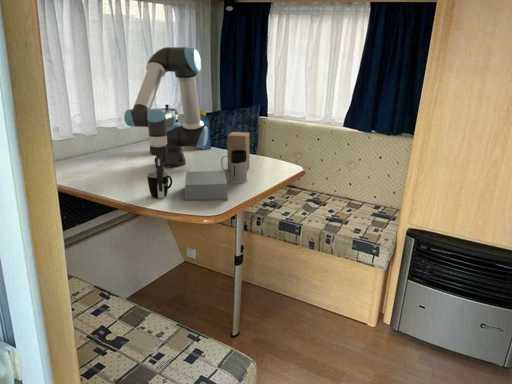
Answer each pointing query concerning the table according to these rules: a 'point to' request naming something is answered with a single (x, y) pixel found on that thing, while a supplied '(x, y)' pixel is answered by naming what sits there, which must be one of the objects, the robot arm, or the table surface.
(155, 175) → the mug
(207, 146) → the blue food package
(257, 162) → the table surface
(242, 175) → the glass holder
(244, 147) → the wooden block
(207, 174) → the large grey square box
